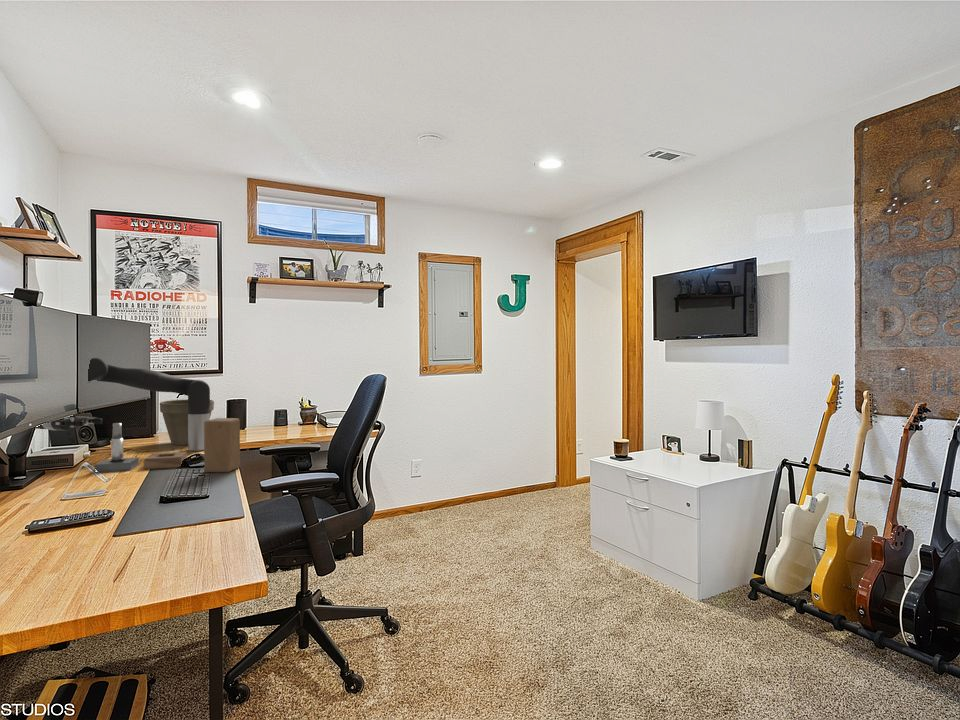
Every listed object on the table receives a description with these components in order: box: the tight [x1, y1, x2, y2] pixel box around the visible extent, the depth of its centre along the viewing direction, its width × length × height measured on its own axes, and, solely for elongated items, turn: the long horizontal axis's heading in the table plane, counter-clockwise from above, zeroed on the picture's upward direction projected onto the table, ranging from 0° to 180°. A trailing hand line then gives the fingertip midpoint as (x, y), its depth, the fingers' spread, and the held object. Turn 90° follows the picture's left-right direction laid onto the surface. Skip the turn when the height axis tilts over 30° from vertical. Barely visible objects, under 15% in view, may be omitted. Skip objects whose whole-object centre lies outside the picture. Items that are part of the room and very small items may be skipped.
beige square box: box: [143, 451, 188, 470], centre depth 223 cm, size 13×13×4 cm
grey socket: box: [94, 457, 140, 473], centre depth 216 cm, size 12×12×3 cm
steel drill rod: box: [110, 422, 124, 462], centre depth 216 cm, size 4×4×18 cm
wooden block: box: [203, 417, 241, 473], centre depth 213 cm, size 10×10×20 cm
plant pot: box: [159, 398, 215, 446], centre depth 280 cm, size 25×25×22 cm
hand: (92, 422), depth 218 cm, fingers open, 8 cm apart
